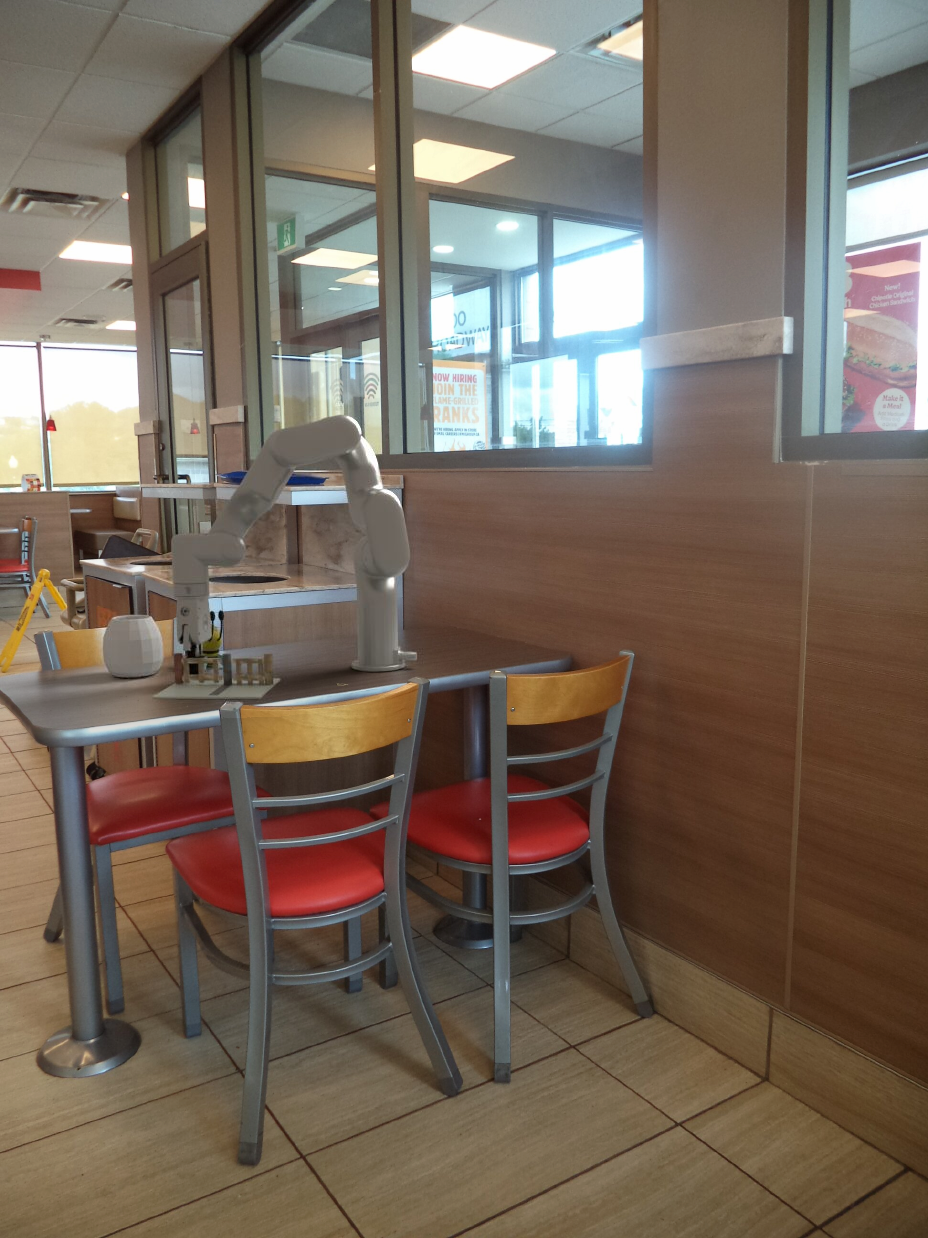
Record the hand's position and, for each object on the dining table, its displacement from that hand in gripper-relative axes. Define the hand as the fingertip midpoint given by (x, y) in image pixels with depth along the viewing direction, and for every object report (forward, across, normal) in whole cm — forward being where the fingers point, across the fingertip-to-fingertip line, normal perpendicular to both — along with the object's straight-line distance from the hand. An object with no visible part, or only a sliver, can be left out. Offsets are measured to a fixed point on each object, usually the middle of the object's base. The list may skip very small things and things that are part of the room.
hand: (195, 673), depth 212 cm
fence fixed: (+2, -3, -13) cm, 13 cm away
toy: (+2, +19, +2) cm, 19 cm away
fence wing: (+1, -3, -2) cm, 4 cm away
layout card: (+2, -6, -7) cm, 9 cm away
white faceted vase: (+2, +9, +17) cm, 19 cm away
